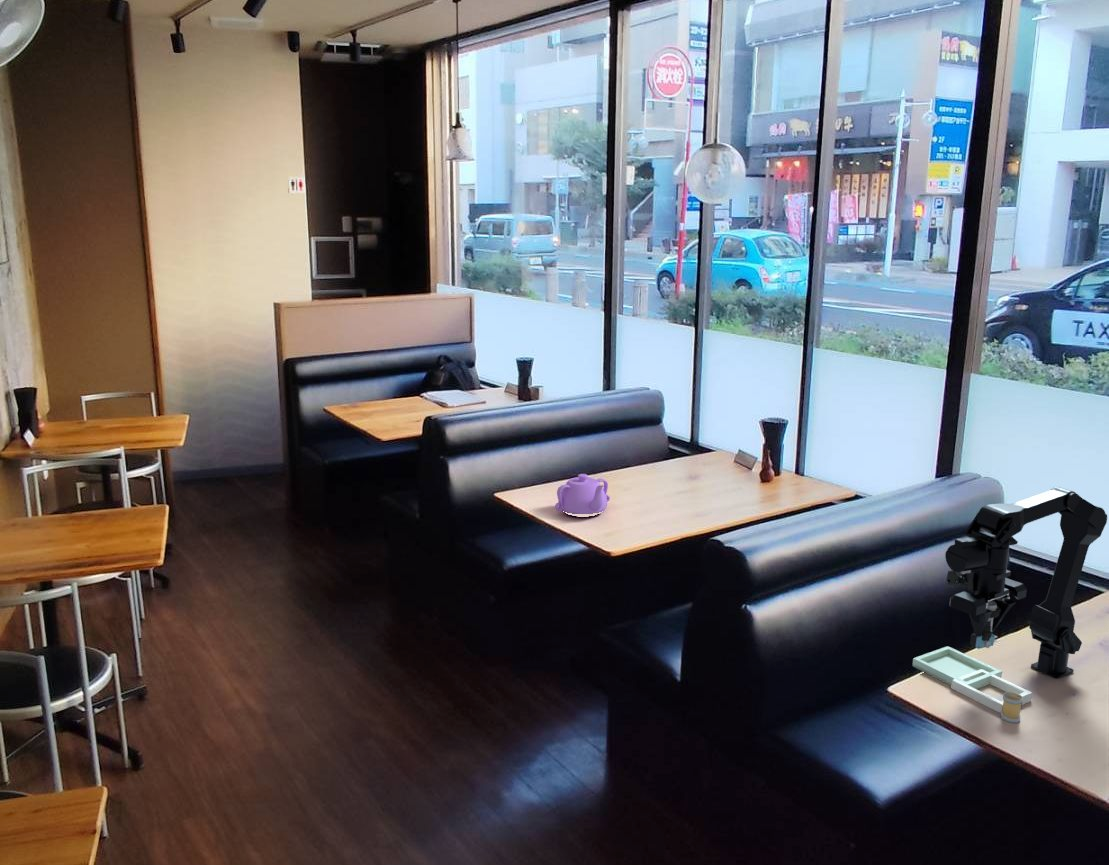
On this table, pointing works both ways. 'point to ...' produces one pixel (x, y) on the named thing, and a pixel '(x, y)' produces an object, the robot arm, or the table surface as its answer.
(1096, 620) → the table surface
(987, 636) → the push button
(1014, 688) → the pale rectangular frame
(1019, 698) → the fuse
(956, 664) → the parts tray
